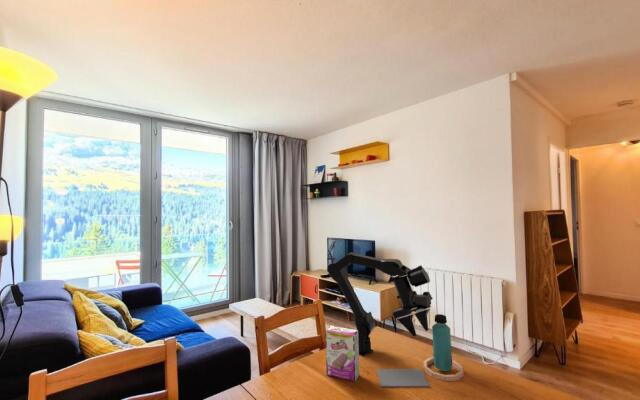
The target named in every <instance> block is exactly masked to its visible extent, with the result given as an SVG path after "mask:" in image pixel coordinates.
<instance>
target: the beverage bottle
mask: <svg viewBox="0 0 640 400" xmlns="http://www.w3.org/2000/svg"><path fill="white" fill-rule="evenodd" d="M447 323H448V321H447V316H446V315H444V314H442V313H438V314H435V316H434V324H433V325H432V327H431V329H432V330H431V332H432V333H431V334H432V352H433V353H432V357H434V362H433V363H432V364H433V365H434V367H435V368H436V369H437V370H439V371H443V372H449V371H452V369H453V367H454V366H452V364H453V362H452V360H453V355H452V354H453V352H452V351H453V350H452V348H453V347H452V339H451V338H452V337H451V328H450V326H449V325H447Z"/></svg>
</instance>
